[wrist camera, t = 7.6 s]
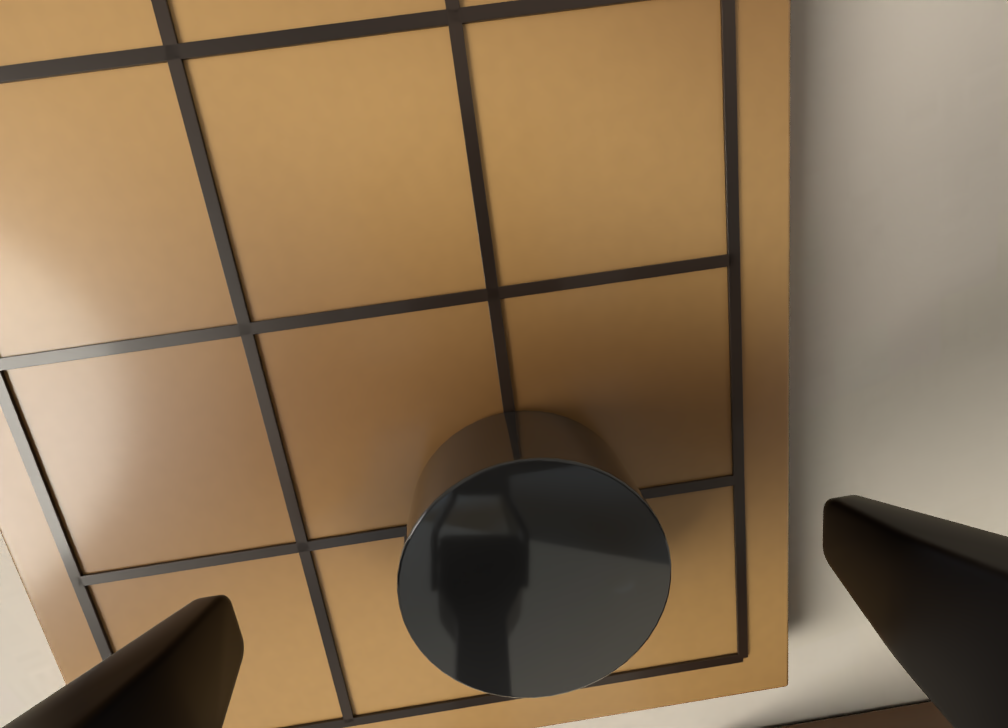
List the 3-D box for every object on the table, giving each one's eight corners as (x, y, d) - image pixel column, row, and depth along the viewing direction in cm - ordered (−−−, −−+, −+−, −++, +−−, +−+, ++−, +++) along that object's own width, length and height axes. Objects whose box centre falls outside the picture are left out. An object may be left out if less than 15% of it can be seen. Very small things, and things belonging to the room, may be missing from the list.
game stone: (639, 590, 10) (679, 676, 8) (431, 623, 10) (422, 719, 8) (623, 393, 9) (664, 437, 7) (392, 428, 9) (371, 482, 7)
